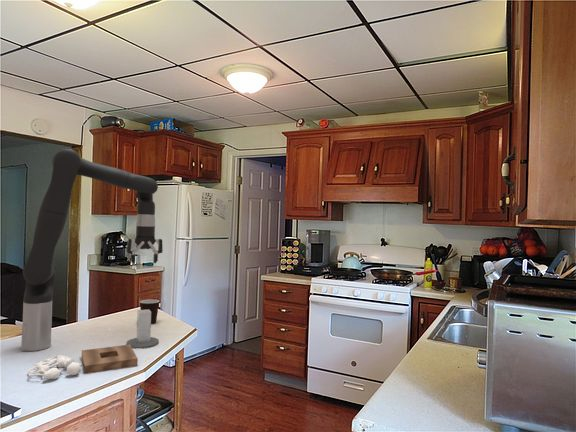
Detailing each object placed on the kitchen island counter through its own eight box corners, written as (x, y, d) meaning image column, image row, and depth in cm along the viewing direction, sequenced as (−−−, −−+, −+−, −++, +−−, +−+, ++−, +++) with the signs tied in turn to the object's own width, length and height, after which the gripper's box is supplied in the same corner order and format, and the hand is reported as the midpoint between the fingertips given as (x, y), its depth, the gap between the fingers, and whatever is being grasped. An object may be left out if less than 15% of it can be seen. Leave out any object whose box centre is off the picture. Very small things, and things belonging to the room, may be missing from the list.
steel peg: (138, 343, 156) (139, 312, 156) (136, 340, 160) (137, 310, 160) (150, 342, 158) (151, 311, 158) (148, 339, 162) (149, 309, 162)
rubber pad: (129, 350, 151) (129, 348, 151) (124, 341, 161) (124, 339, 161) (161, 346, 157) (161, 344, 157) (155, 337, 167) (155, 335, 167)
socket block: (84, 373, 128) (84, 365, 128) (81, 357, 142) (81, 350, 142) (137, 365, 136) (137, 358, 136) (129, 351, 150) (129, 344, 150)
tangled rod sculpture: (24, 369, 133) (23, 357, 133) (73, 357, 142) (72, 346, 142) (31, 389, 118) (30, 375, 118) (85, 374, 127) (84, 361, 127)
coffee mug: (154, 325, 184) (155, 303, 184) (136, 324, 185) (136, 303, 185) (163, 319, 196) (163, 298, 196) (145, 318, 196) (146, 297, 196)
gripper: (129, 225, 164) (128, 264, 164) (164, 225, 172) (163, 263, 172) (126, 224, 171) (125, 262, 171) (160, 225, 178) (159, 261, 178)
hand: (144, 263), depth 171 cm, fingers open, 8 cm apart
